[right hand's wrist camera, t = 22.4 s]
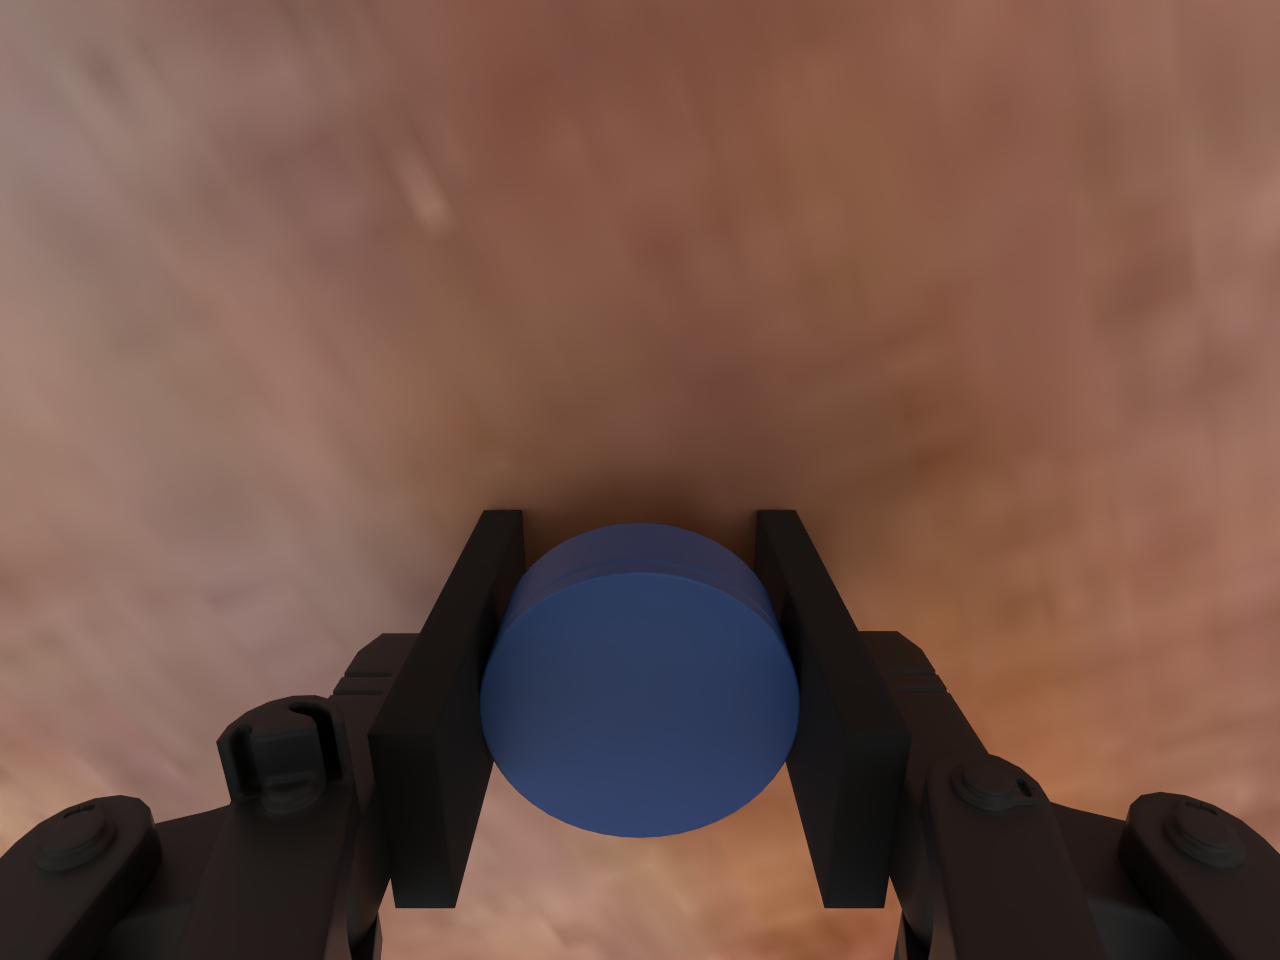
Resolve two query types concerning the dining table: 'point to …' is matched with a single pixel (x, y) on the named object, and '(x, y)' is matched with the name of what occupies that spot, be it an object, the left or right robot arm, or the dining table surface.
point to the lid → (639, 683)
